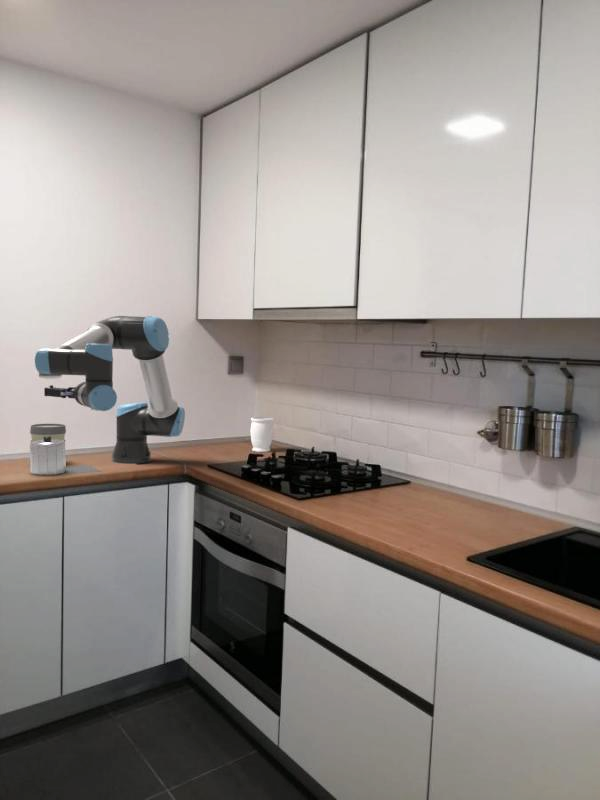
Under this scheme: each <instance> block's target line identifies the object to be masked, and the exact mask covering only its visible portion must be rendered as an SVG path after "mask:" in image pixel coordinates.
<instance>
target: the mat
mask: <svg viewBox="0 0 600 800" xmlns="http://www.w3.org/2000/svg"><path fill="white" fill-rule="evenodd" d="M97 472H98V473H99V472H101V470H100V469H98V468H96V467H95V466H92V465H91V464H88V465H86V464H85V465H72V466H71V465H69V466H66V472H65V473H67V474H69V475H70V474H71V475H72V474H73V475H75V474H85V473H97Z"/></svg>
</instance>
